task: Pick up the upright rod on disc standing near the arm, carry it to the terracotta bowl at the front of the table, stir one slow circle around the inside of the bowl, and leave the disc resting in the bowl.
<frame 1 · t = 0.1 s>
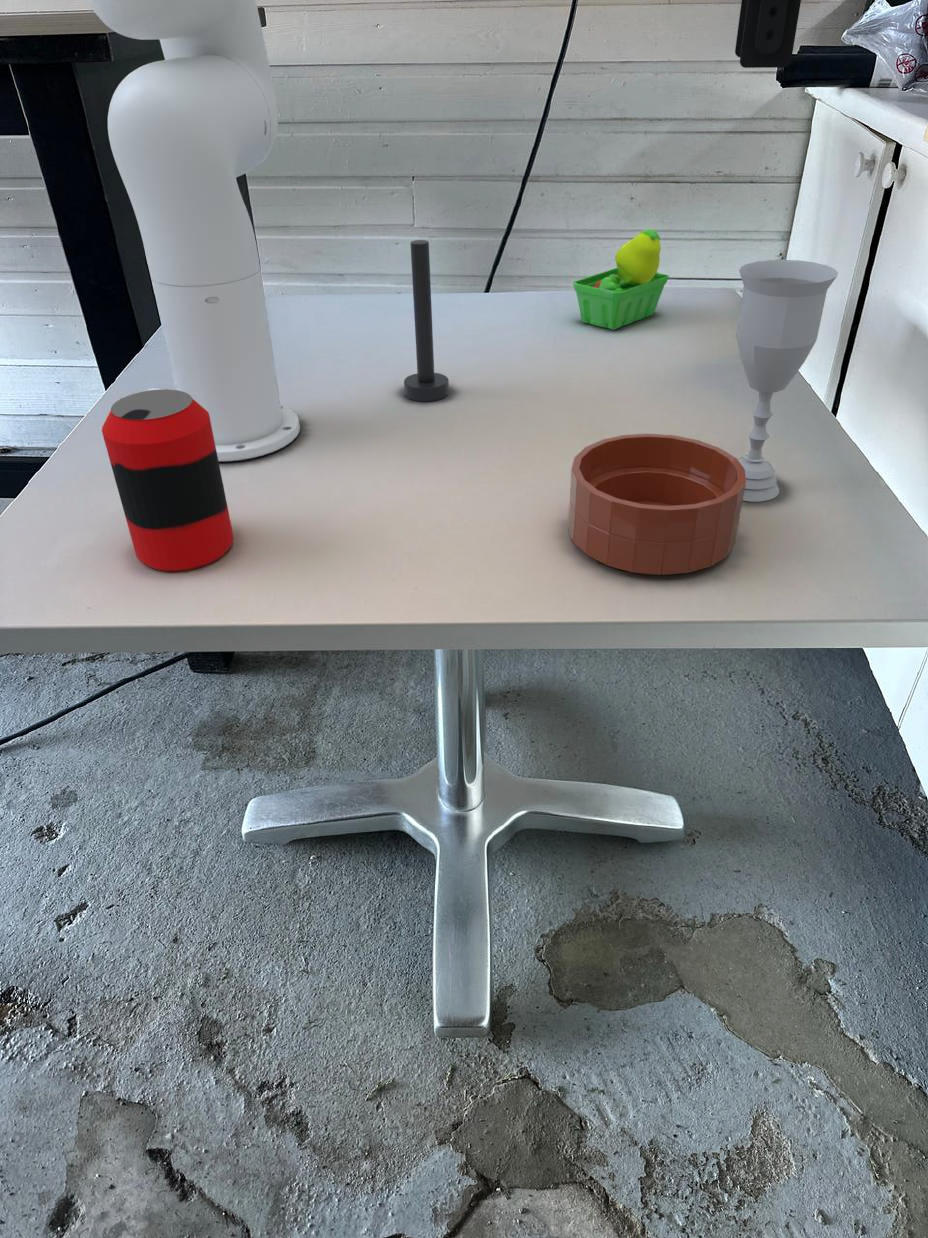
hand: (760, 61, 62), 31 cm above the table, tool pointing down, fingers open, 9 cm apart
chalice: (748, 489, 77), on the table
soda can: (186, 550, 71), on the table
bowl: (649, 537, 71), on the table
upright rod on disc: (426, 393, 97), on the table
fruit basket: (621, 320, 116), on the table
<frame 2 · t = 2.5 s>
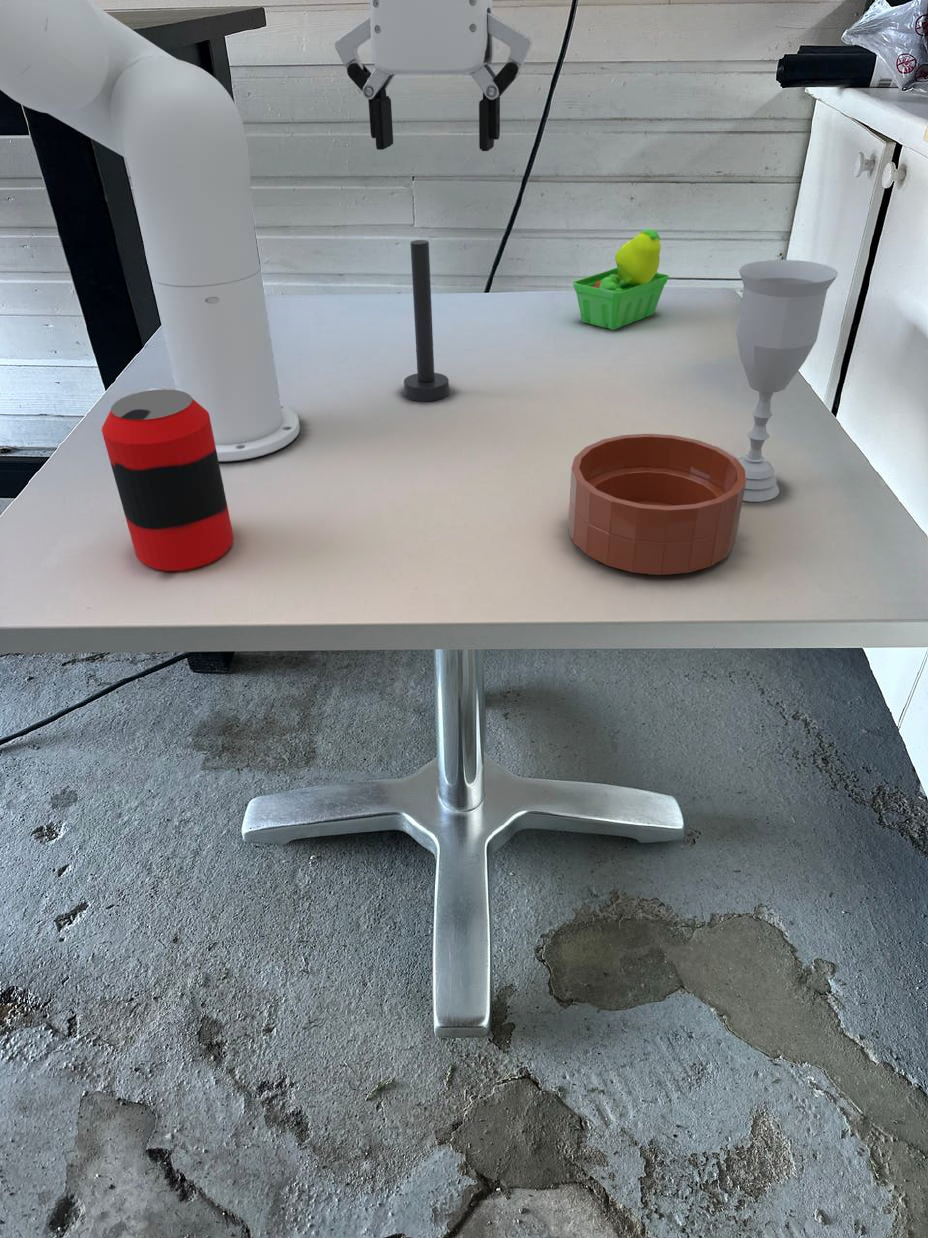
hand: (435, 148, 81), 24 cm above the table, tool pointing down, fingers open, 9 cm apart
nothing on the table moved.
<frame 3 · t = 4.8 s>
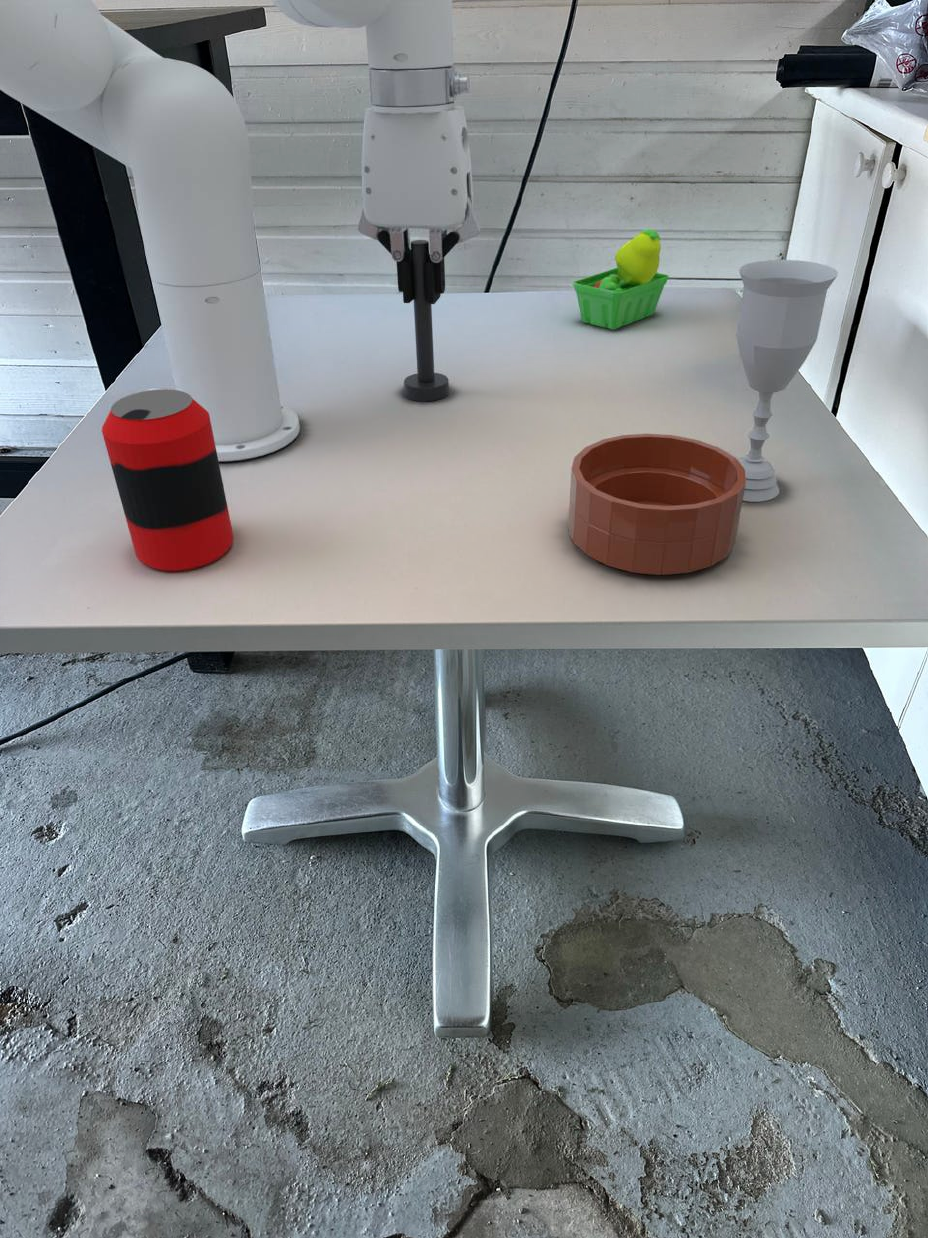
hand: (422, 298, 91), 10 cm above the table, tool pointing down, fingers closed on upright rod on disc
upright rod on disc: (426, 393, 97), on the table, touching gripper
everything else where it was.
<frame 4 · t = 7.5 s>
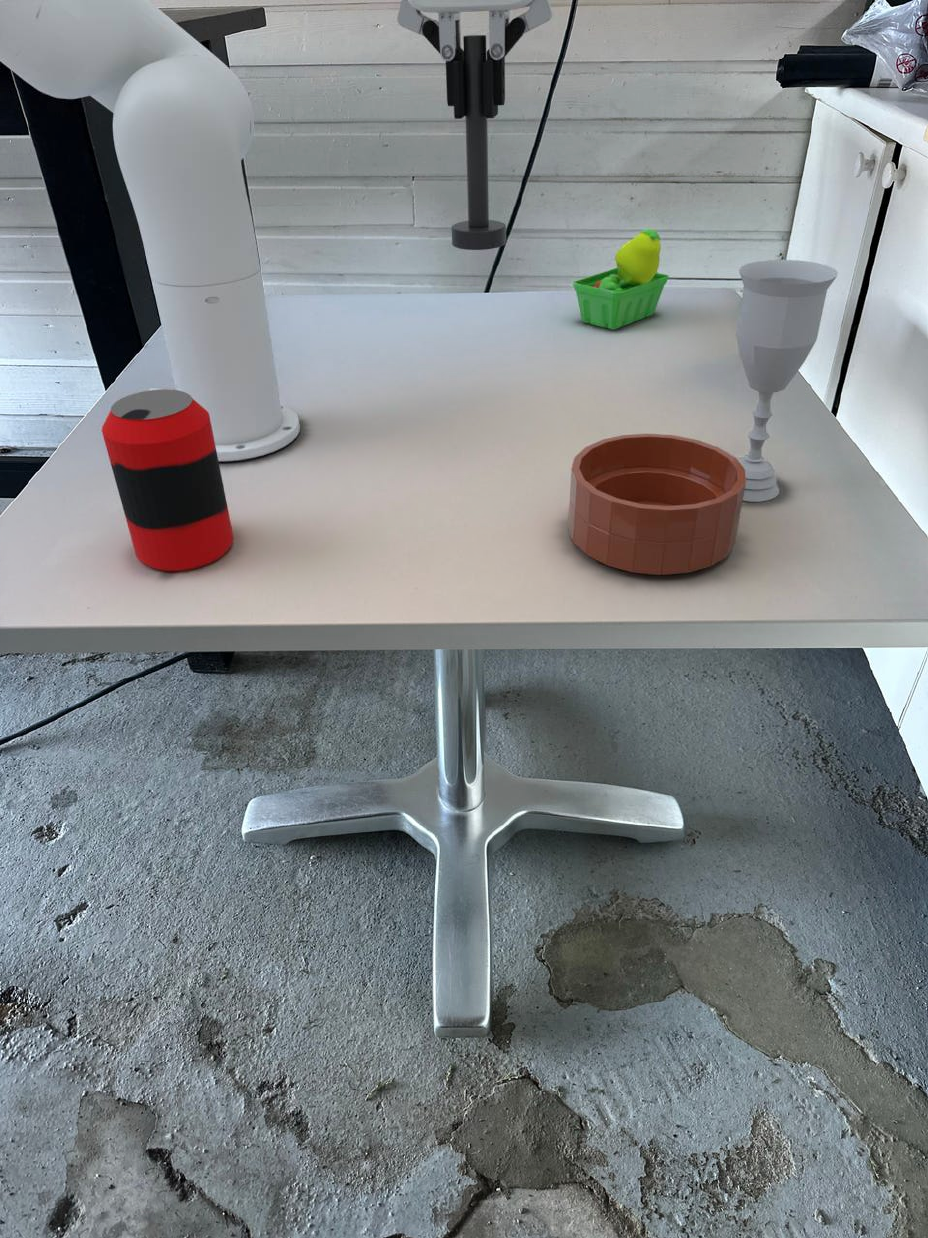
hand: (476, 114, 73), 27 cm above the table, tool pointing down, fingers closed on upright rod on disc
upright rod on disc: (479, 243, 79), point 17 cm above the table, touching gripper
everything else where it was.
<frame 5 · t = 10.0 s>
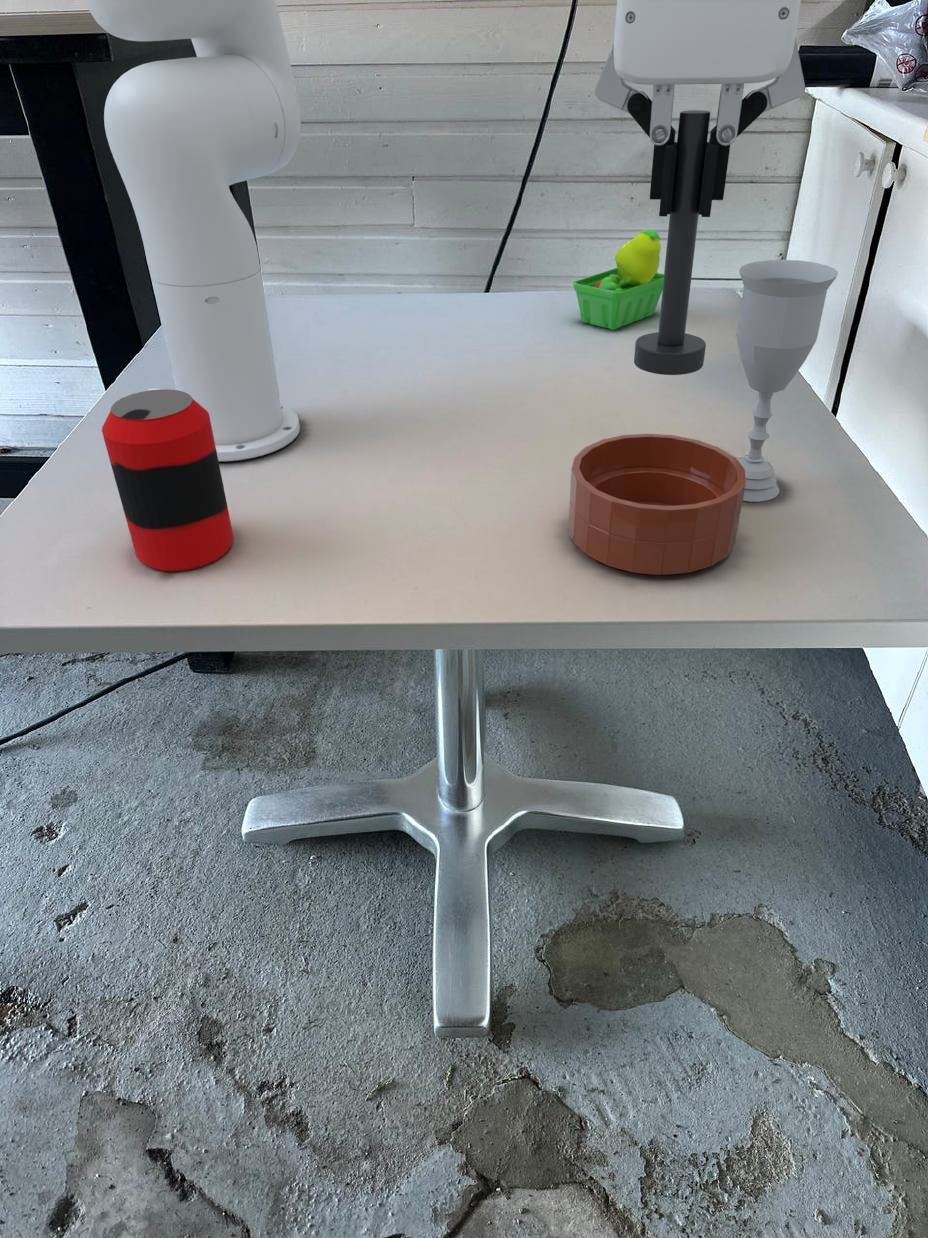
hand: (684, 210, 57), 24 cm above the table, tool pointing down, fingers closed on upright rod on disc
upright rod on disc: (668, 363, 63), point 14 cm above the table, touching gripper
everything else where it was.
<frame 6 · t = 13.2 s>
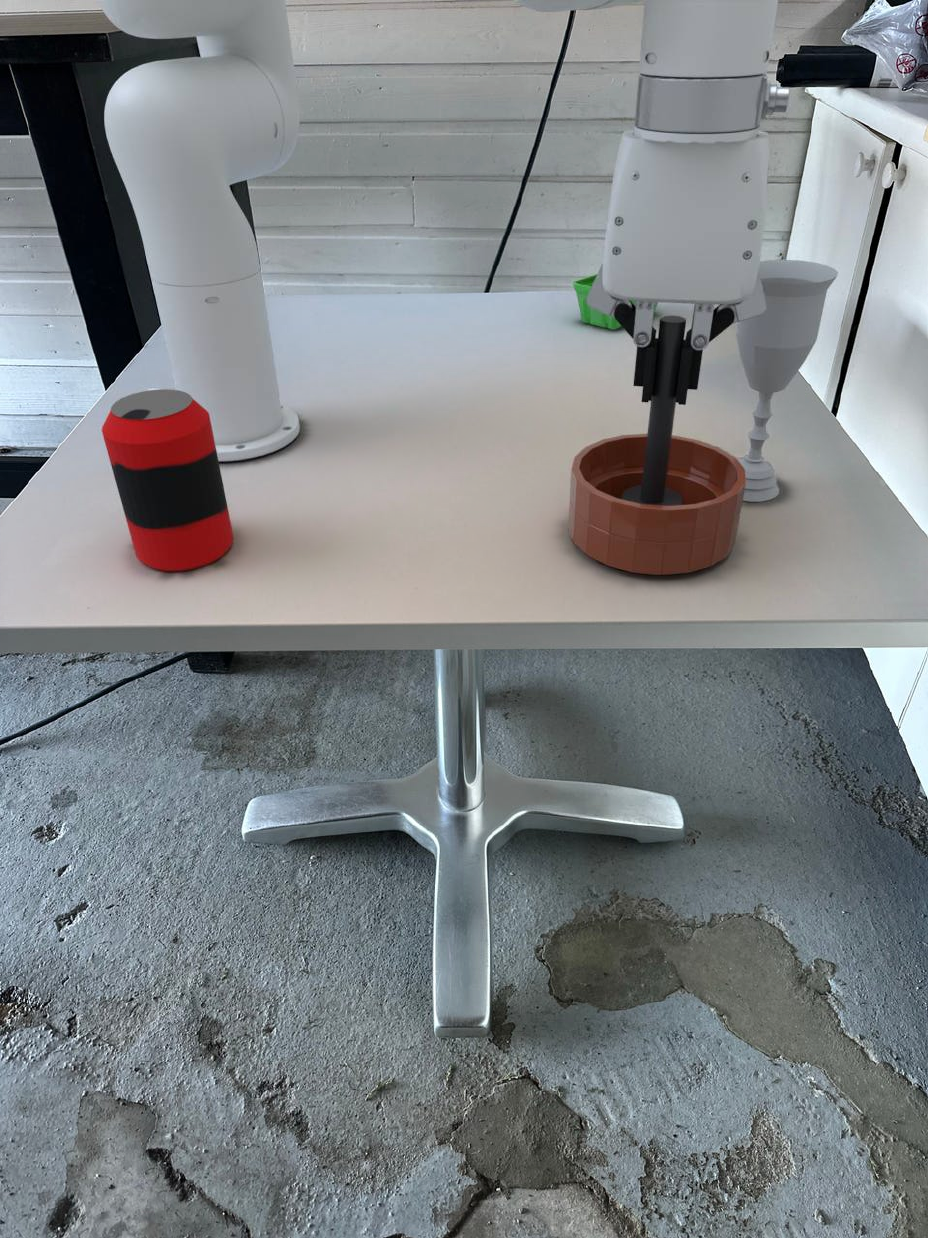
hand: (664, 394, 65), 11 cm above the table, tool pointing down, fingers closed on upright rod on disc
upright rod on disc: (650, 514, 71), point 1 cm above the table, touching gripper
everything else where it was.
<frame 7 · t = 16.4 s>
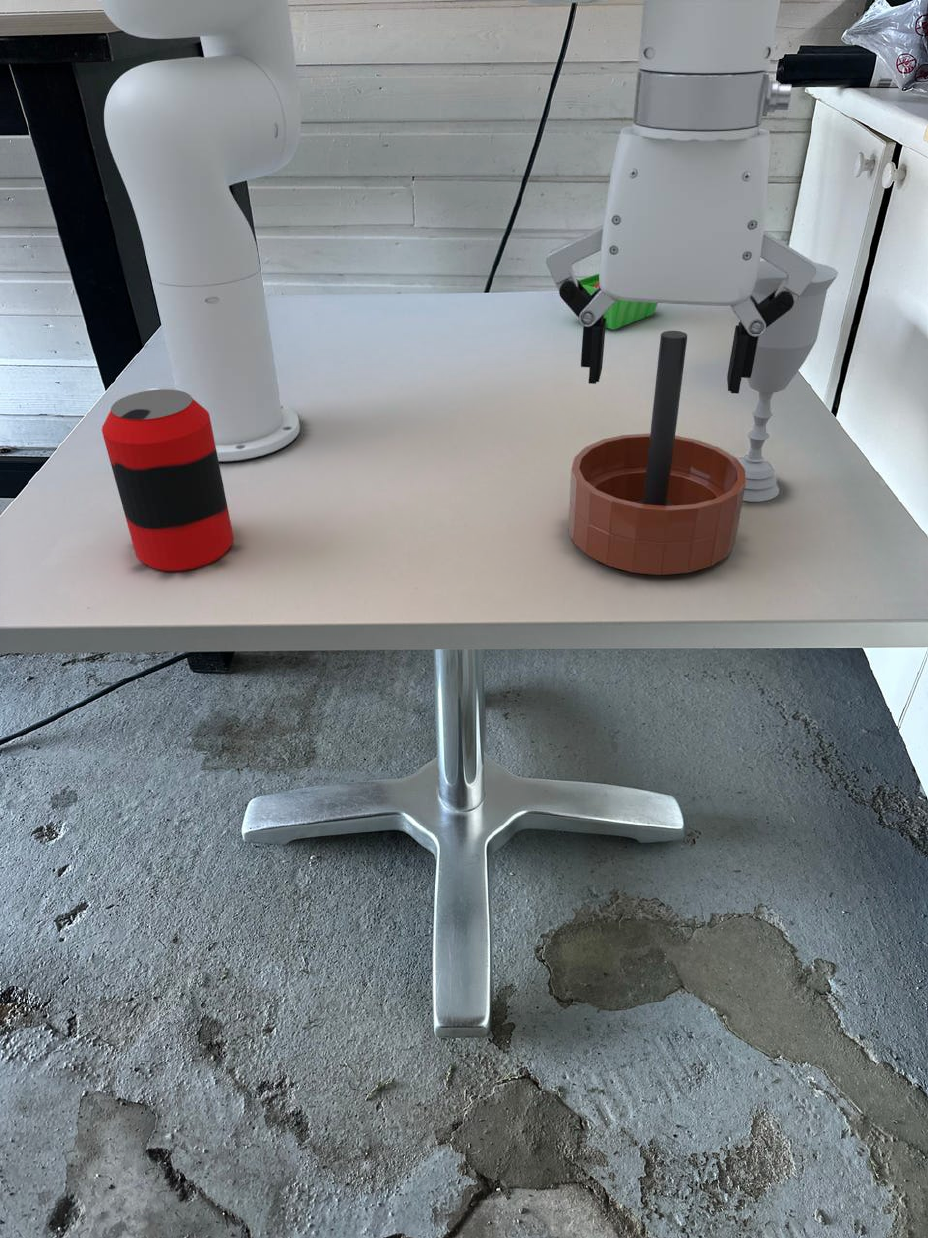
hand: (663, 381, 63), 13 cm above the table, tool pointing down, fingers open, 9 cm apart
upright rod on disc: (651, 530, 70), point 1 cm above the table, touching bowl
everything else where it was.
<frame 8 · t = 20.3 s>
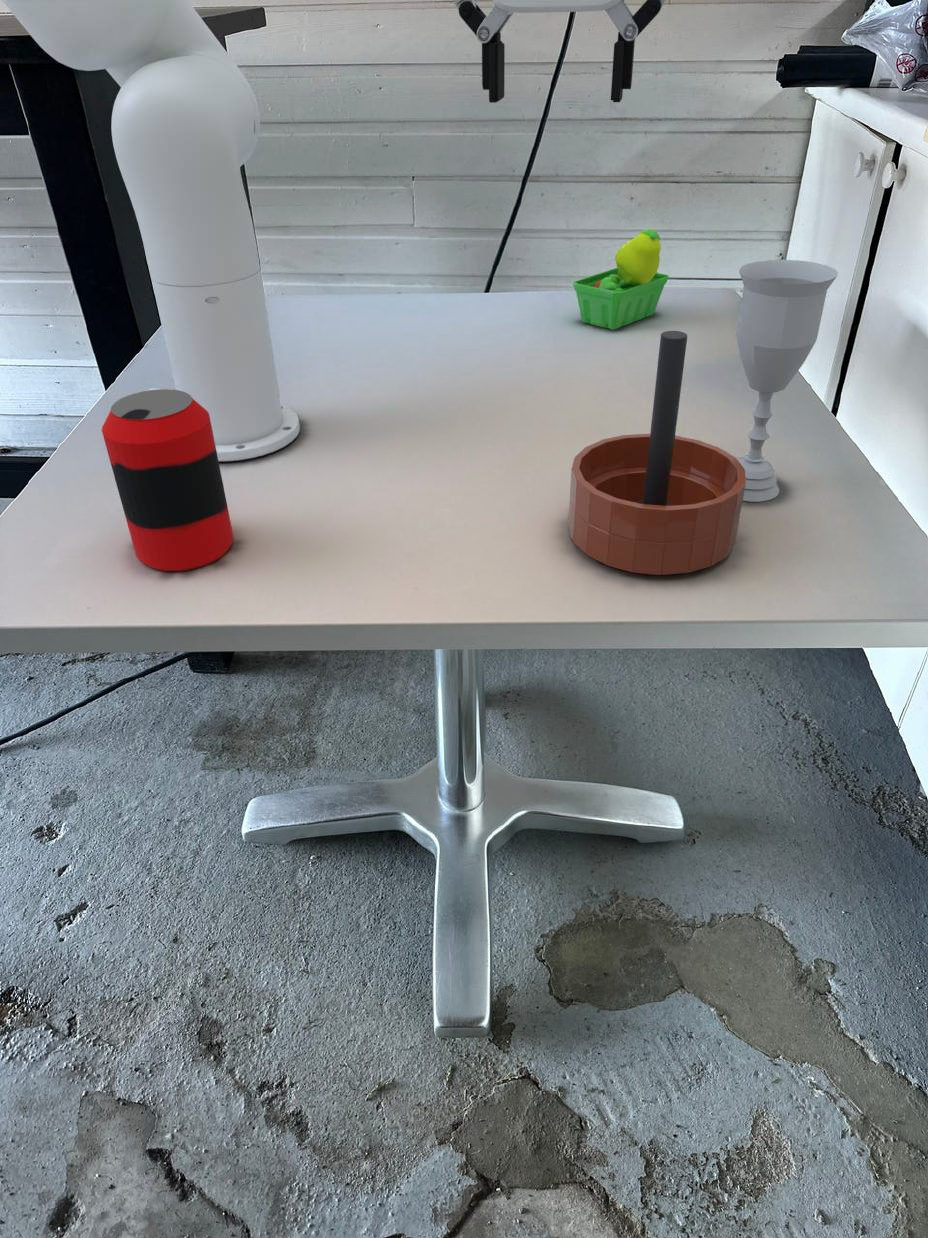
hand: (555, 100, 71), 28 cm above the table, tool pointing down, fingers open, 9 cm apart
nothing on the table moved.
at the end: upright rod on disc 0.1 cm off-centre in the bowl, point 0.6 cm above the bowl's base; upright rod on disc moved 36.8 cm from its start; the gripper is holding nothing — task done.
